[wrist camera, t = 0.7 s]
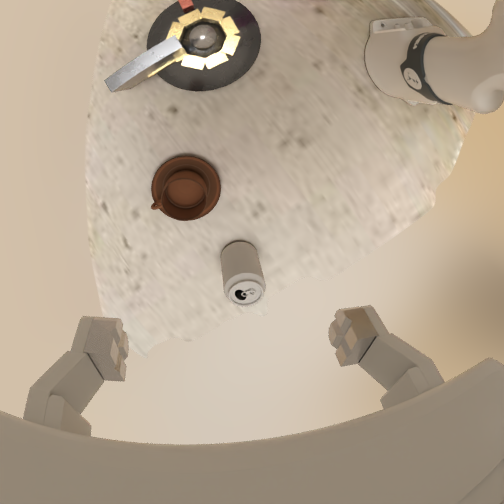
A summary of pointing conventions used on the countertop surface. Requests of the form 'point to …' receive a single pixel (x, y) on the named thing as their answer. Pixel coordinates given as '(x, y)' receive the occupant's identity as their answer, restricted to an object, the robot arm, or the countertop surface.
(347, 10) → the countertop surface
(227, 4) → the cap plate
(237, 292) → the can
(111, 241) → the countertop surface
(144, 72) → the gray slab gold ring
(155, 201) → the cup and saucer
